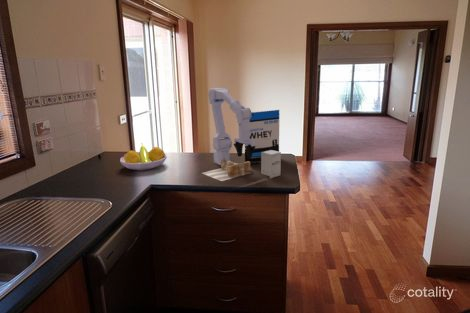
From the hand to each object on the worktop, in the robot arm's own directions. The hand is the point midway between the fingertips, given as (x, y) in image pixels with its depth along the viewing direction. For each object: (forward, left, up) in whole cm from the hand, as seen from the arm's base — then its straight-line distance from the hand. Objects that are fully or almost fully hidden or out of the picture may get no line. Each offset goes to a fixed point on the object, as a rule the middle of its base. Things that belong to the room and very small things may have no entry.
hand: (244, 157), depth 176 cm
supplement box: (+12, +7, -9) cm, 17 cm away
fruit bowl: (-51, -34, -9) cm, 62 cm away
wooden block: (0, -4, -8) cm, 9 cm away
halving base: (-5, -9, -9) cm, 13 cm away
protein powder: (-10, +23, -9) cm, 26 cm away
